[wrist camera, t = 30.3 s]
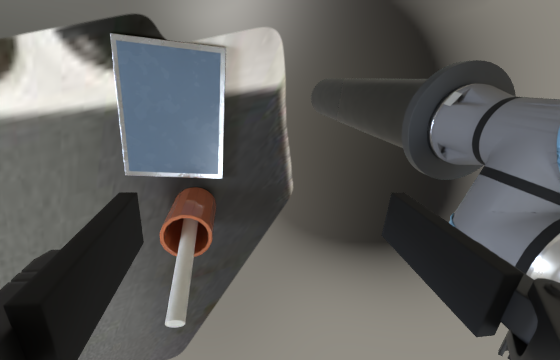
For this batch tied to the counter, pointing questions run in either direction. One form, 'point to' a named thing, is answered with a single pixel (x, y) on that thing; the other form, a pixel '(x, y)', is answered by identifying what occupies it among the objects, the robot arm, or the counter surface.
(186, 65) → the tablet
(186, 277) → the stylus
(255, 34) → the counter surface
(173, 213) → the pen pot
